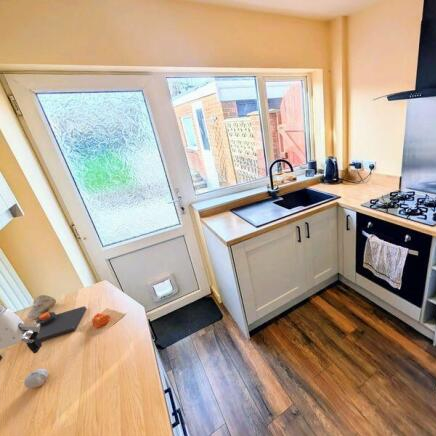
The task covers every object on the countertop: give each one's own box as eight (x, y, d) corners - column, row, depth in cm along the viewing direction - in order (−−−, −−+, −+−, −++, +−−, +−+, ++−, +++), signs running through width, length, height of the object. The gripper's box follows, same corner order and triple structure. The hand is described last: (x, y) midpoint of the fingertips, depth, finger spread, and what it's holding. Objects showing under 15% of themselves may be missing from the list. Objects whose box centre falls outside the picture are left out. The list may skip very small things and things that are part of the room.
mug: (23, 323, 104) (19, 300, 105) (51, 315, 114) (47, 293, 115) (35, 320, 103) (31, 297, 103) (62, 312, 112) (58, 290, 113)
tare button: (39, 322, 99) (37, 318, 99) (43, 316, 102) (41, 313, 101) (48, 319, 100) (46, 316, 100) (52, 314, 103) (49, 311, 102)
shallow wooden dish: (107, 308, 107) (103, 301, 105) (125, 314, 103) (121, 306, 101) (77, 330, 97) (72, 322, 96) (96, 338, 93) (91, 330, 91)
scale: (26, 346, 93) (21, 340, 91) (44, 321, 104) (40, 315, 103) (75, 331, 97) (70, 325, 96) (87, 308, 109) (83, 302, 107)
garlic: (55, 377, 80) (47, 366, 78) (35, 394, 75) (26, 383, 73) (45, 372, 82) (36, 361, 80) (24, 388, 77) (15, 378, 75)
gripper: (-75, 336, 60) (-29, 380, 68) (13, 311, 65) (47, 354, 72) (-49, 315, 67) (-10, 357, 74) (28, 294, 72) (58, 335, 79)
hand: (18, 355), depth 73 cm, fingers open, 9 cm apart
